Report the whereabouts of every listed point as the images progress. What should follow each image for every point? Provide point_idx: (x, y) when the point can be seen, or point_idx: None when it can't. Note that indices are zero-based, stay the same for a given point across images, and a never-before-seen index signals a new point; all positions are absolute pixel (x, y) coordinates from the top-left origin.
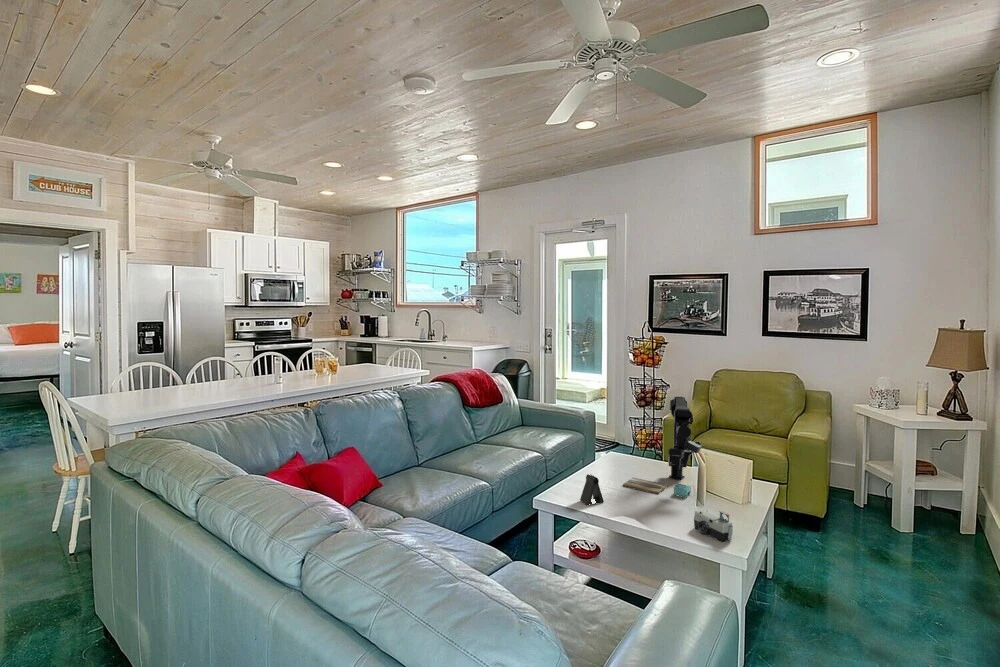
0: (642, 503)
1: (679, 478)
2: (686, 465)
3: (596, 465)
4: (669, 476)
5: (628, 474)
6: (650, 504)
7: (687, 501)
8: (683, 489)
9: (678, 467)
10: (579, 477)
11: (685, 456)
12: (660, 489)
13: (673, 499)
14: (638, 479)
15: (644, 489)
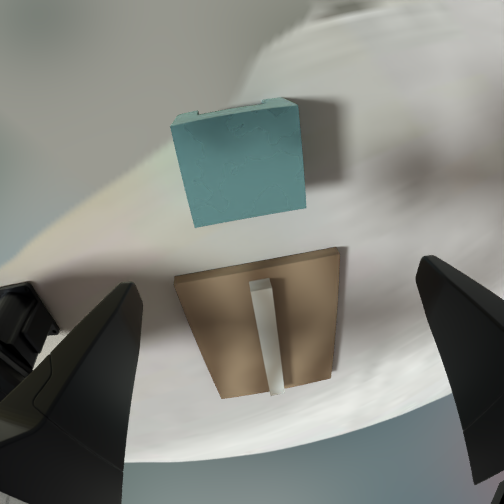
0: (471, 236)
1: (27, 293)
2: (123, 291)
3: (199, 459)
4: (53, 332)
5: (184, 414)
6: (470, 208)
7: (337, 70)
8: (300, 132)
9: (454, 278)
10: (327, 435)
11: (87, 437)
12: (287, 271)
13: (361, 152)
14: (226, 382)
15: (336, 314)
